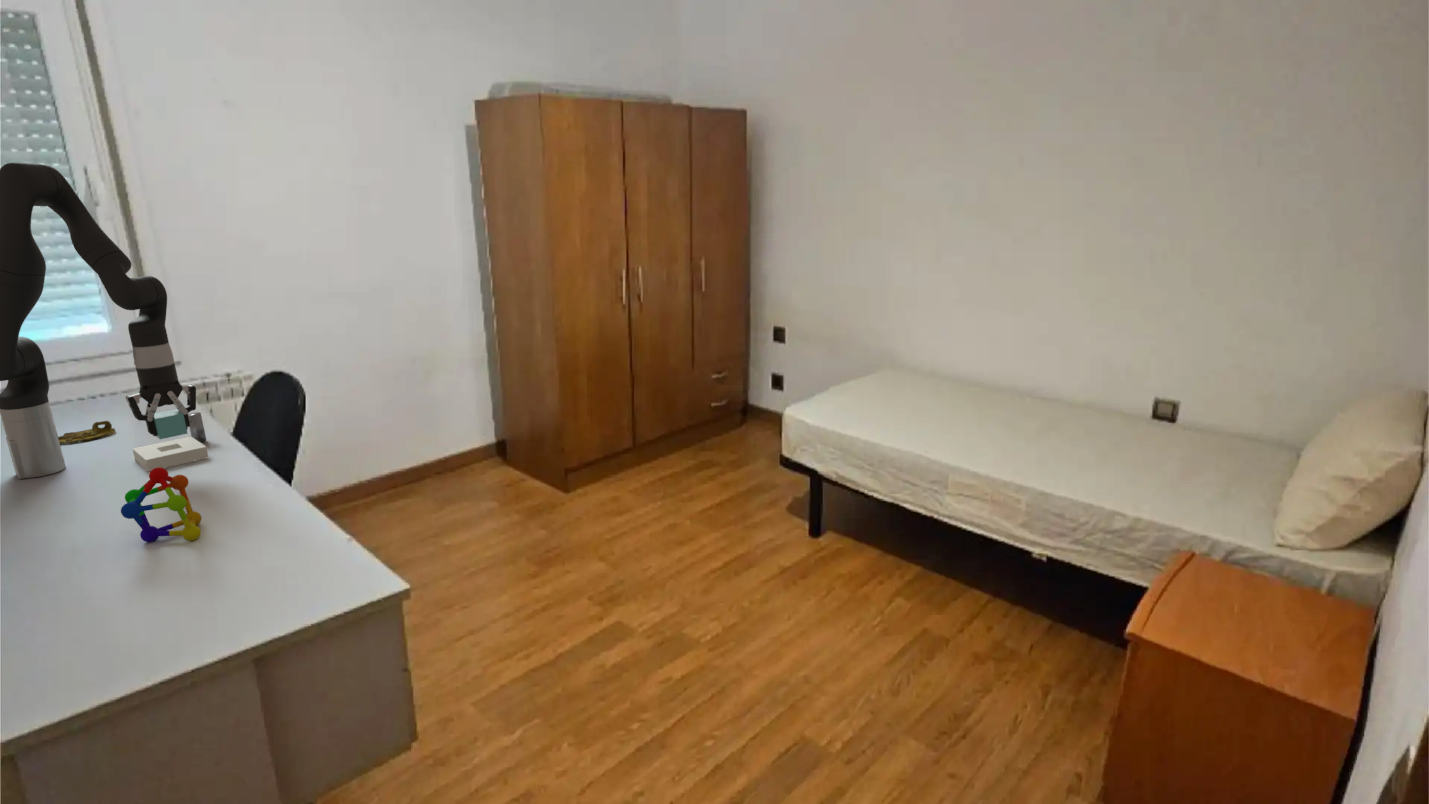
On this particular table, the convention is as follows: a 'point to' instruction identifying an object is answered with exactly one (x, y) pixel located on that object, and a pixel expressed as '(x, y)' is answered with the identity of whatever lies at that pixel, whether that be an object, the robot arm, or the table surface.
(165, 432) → the frosted teal cube
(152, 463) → the board
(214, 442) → the table surface
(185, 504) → the educational toy
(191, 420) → the peg
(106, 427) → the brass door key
